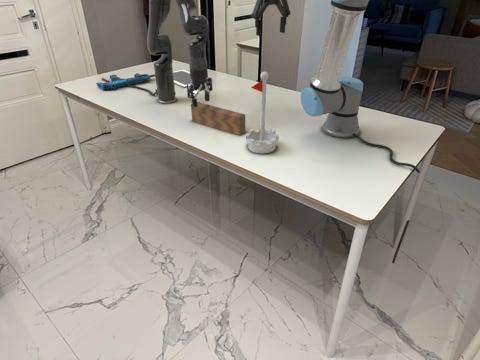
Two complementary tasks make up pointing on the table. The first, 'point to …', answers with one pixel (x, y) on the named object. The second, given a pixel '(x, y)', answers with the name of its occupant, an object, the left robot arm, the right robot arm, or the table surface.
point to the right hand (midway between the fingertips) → (270, 34)
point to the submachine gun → (124, 81)
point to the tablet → (182, 78)
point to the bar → (218, 118)
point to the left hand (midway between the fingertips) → (201, 103)
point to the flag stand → (262, 125)
